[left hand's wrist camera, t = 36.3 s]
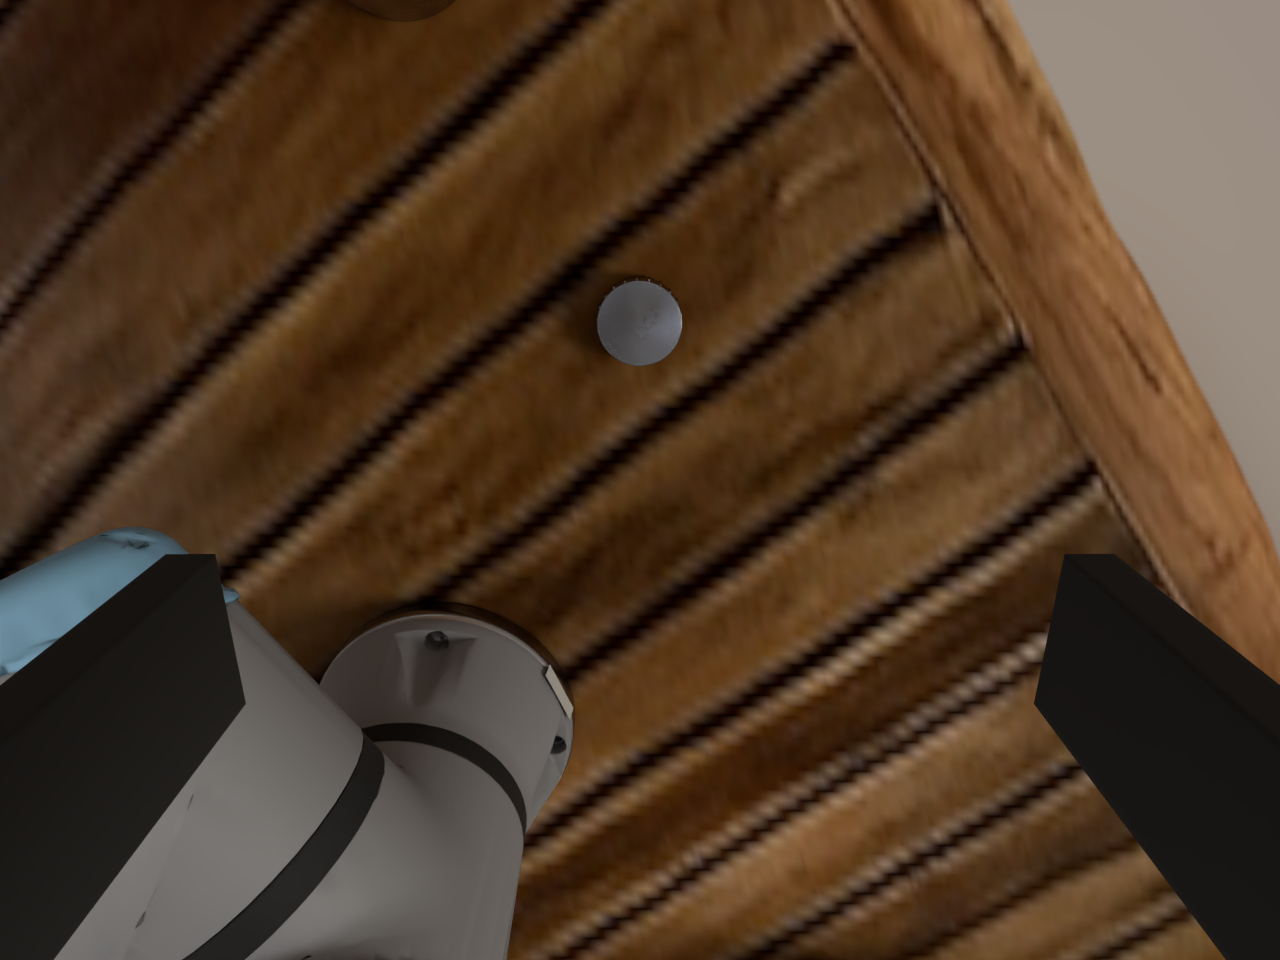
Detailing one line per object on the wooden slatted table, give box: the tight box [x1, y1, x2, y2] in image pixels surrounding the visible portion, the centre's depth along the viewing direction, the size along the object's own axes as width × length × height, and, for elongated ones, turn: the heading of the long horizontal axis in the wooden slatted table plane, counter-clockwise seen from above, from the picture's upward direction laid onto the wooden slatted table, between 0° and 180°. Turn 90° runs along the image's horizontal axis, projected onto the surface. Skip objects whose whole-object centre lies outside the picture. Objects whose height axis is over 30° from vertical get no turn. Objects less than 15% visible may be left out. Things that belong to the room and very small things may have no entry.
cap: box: [596, 276, 683, 366], centre depth 40 cm, size 4×4×2 cm
